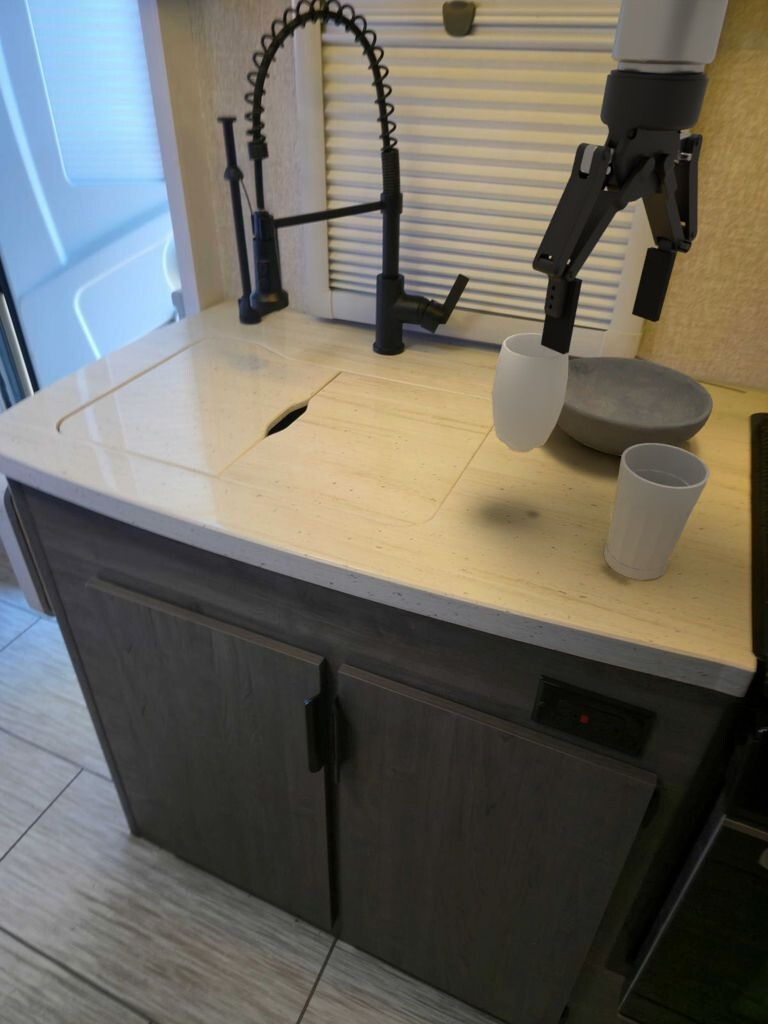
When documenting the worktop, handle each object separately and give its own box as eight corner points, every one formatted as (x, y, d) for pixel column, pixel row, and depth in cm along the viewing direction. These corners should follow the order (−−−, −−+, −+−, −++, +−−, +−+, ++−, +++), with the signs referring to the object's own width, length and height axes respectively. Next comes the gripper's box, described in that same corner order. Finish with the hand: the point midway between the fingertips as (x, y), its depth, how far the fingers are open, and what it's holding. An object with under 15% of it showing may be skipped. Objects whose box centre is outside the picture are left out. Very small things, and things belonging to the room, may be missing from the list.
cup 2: (591, 573, 69) (617, 476, 61) (601, 529, 74) (626, 436, 67) (672, 594, 66) (709, 496, 59) (676, 546, 72) (710, 452, 65)
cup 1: (471, 500, 79) (489, 331, 66) (530, 496, 79) (560, 329, 67) (484, 538, 73) (508, 362, 60) (548, 534, 74) (585, 359, 61)
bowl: (516, 458, 86) (524, 402, 81) (552, 391, 101) (561, 341, 97) (689, 499, 79) (709, 441, 75) (700, 421, 95) (718, 369, 90)
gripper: (706, 61, 60) (647, 296, 72) (509, 69, 48) (480, 349, 60) (788, 66, 55) (710, 316, 68) (593, 76, 43) (543, 379, 55)
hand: (602, 332), depth 64 cm, fingers open, 13 cm apart
